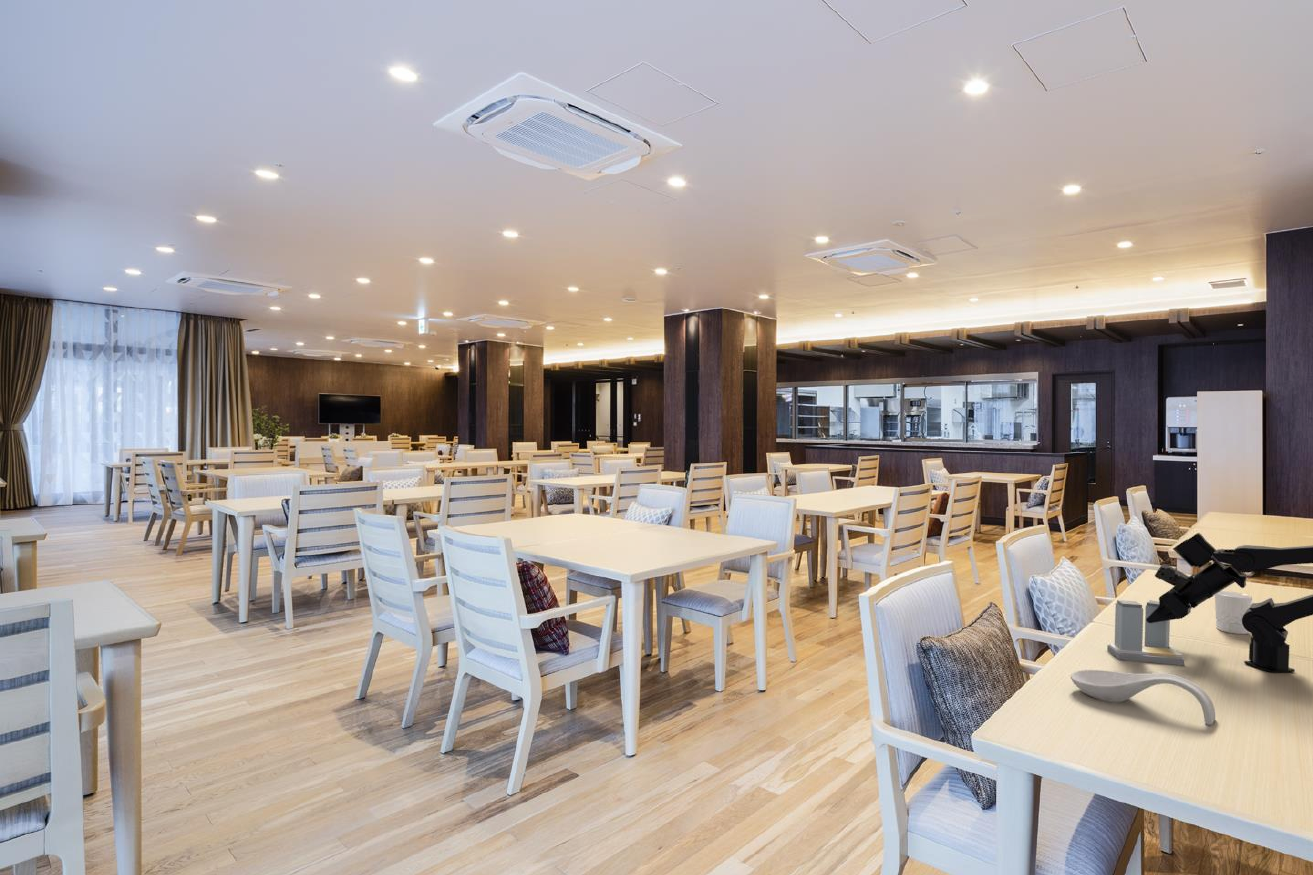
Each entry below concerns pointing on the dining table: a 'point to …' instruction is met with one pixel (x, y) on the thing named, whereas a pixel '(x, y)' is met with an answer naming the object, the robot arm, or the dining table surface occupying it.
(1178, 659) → the rail board
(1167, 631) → the block
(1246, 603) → the white cup
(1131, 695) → the grey spoon
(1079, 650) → the dining table surface
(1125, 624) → the block
